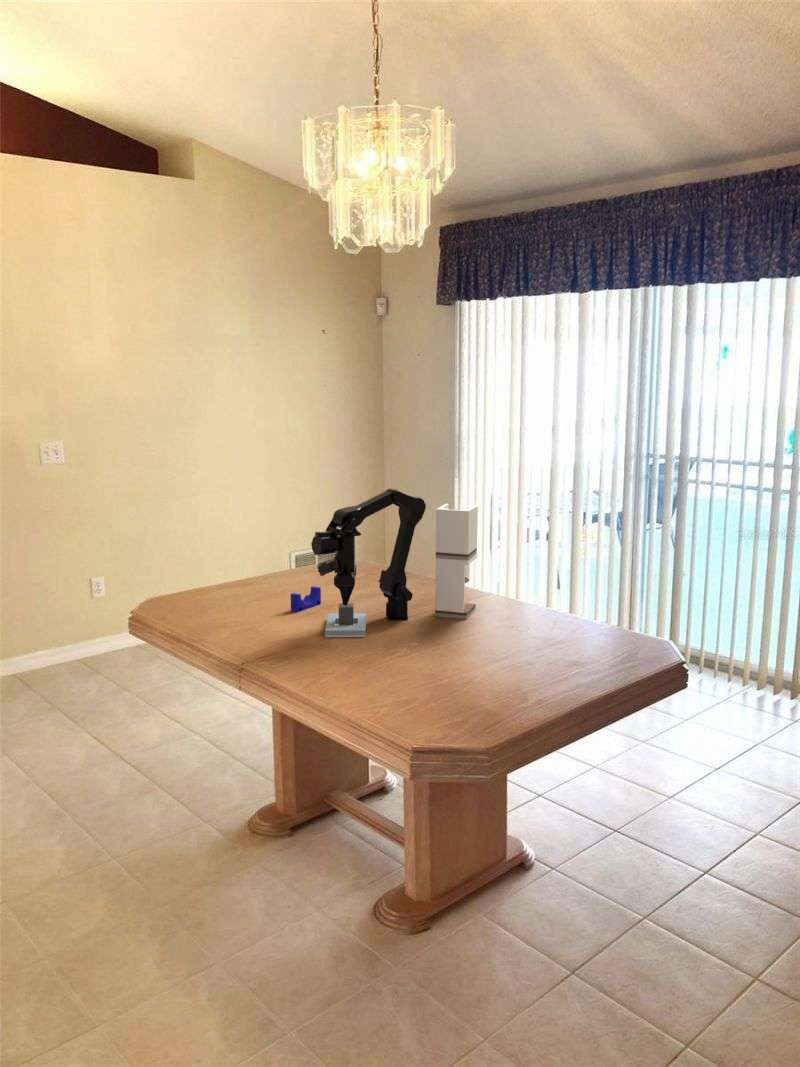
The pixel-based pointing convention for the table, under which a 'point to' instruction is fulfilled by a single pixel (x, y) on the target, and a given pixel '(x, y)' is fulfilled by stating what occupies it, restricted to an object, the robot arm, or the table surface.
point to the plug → (346, 614)
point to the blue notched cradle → (306, 600)
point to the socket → (345, 626)
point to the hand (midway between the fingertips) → (345, 601)
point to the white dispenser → (454, 560)
